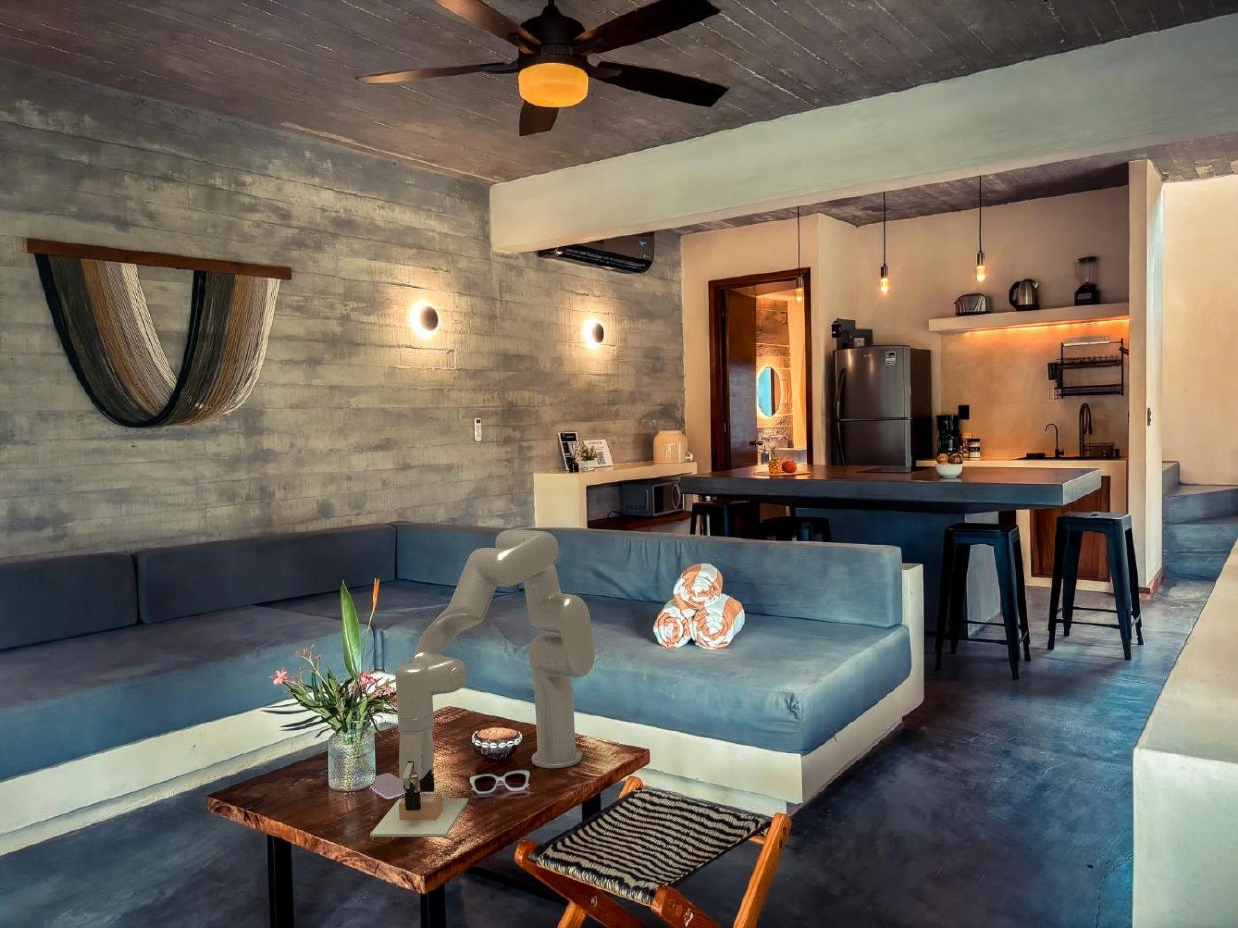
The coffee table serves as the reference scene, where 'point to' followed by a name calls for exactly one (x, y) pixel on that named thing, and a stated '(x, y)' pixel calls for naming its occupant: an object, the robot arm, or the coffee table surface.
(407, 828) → the play mat
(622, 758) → the coffee table surface
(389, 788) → the mobile phone
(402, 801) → the block
